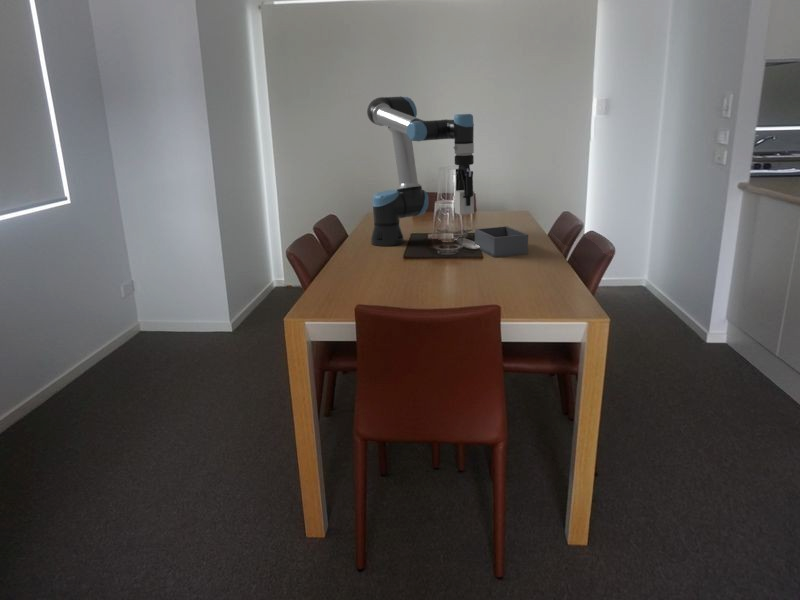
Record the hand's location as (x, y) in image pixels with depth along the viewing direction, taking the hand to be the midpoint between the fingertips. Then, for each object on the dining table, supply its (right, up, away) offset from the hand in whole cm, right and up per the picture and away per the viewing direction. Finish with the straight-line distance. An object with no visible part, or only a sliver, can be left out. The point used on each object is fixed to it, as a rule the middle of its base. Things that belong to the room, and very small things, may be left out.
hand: (464, 212), depth 245 cm
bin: (+16, -15, +8) cm, 23 cm away
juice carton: (0, 0, 0) cm, 0 cm away
